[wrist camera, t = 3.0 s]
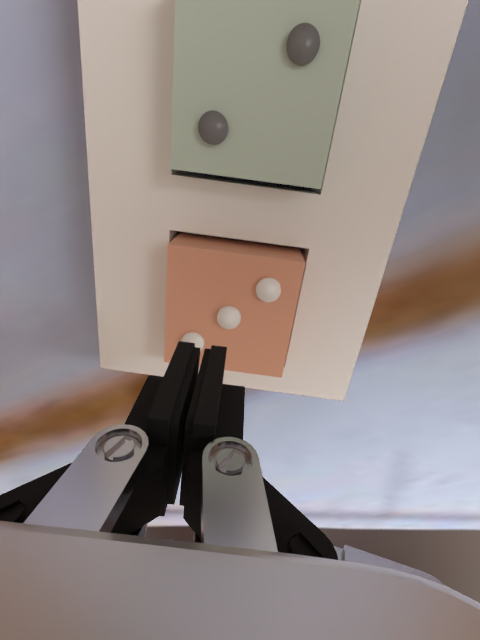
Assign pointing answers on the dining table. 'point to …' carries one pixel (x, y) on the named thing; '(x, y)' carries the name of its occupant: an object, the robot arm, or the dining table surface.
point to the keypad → (255, 184)
